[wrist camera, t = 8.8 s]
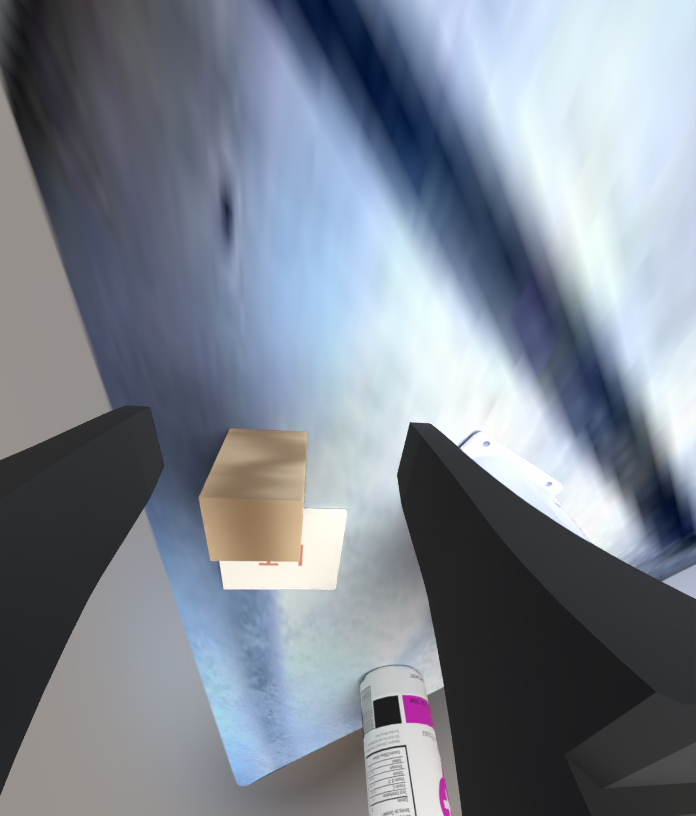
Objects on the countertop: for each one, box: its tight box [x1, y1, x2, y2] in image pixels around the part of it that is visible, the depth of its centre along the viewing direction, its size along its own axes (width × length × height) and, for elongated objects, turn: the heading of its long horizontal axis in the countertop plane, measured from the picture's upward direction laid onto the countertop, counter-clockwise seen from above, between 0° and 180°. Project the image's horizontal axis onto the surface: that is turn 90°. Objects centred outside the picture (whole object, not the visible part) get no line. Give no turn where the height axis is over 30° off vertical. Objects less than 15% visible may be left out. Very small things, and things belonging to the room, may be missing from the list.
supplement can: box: [360, 665, 452, 816], centre depth 35 cm, size 8×8×15 cm
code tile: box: [219, 508, 347, 590], centre depth 27 cm, size 10×10×1 cm
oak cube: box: [199, 428, 308, 562], centre depth 20 cm, size 5×5×6 cm
